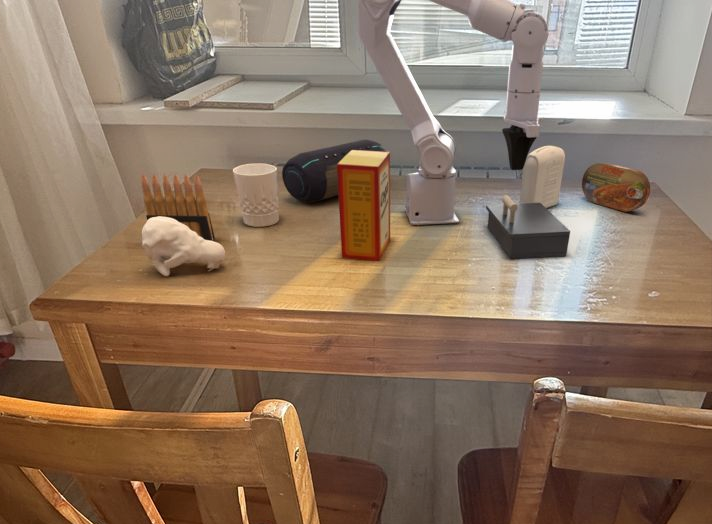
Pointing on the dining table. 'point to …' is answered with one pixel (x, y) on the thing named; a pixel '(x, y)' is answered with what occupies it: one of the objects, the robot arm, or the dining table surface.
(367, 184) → the baking soda box
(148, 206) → the ammunition clip
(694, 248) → the dining table surface
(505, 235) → the flip case
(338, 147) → the portable speaker
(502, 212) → the cover
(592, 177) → the tin
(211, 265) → the white figurine
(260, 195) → the white cup
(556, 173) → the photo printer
